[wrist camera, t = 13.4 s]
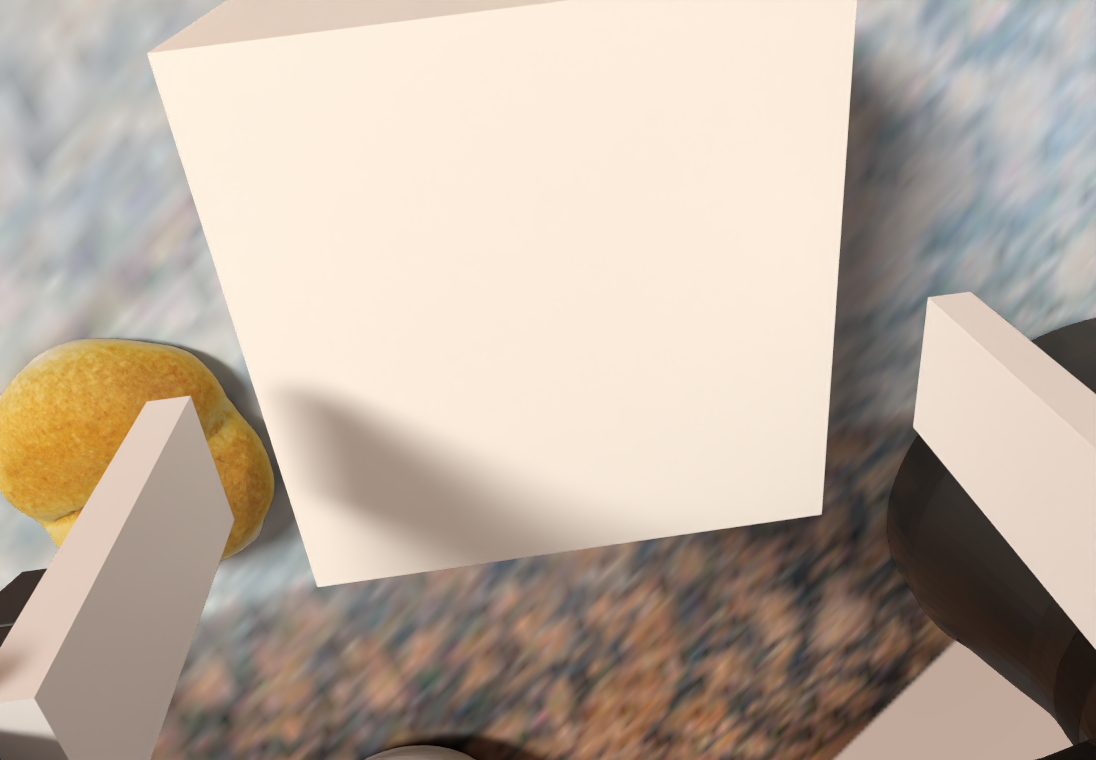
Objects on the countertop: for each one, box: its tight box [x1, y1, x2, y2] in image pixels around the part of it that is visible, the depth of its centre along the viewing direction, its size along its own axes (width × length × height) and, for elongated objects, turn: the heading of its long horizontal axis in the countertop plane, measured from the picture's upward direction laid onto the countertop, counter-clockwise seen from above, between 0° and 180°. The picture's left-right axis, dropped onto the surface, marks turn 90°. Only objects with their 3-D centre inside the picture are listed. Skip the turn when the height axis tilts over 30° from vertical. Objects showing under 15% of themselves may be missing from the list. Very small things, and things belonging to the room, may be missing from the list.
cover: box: [147, 0, 857, 587], centre depth 22 cm, size 12×12×10 cm
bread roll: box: [0, 338, 275, 561], centre depth 29 cm, size 8×9×4 cm
